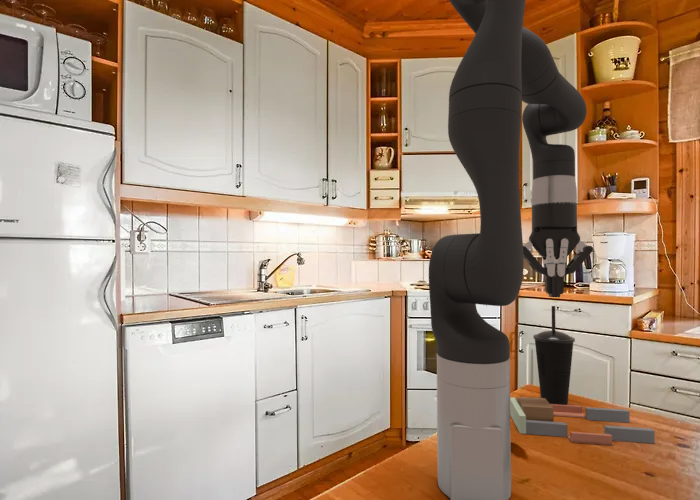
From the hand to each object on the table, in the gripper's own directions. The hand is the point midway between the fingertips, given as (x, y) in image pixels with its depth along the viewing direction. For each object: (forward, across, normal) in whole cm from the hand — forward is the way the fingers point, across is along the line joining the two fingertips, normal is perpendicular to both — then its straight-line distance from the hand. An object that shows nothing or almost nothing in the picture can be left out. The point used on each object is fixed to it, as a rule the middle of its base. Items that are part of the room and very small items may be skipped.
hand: (554, 296), depth 75 cm
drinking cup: (+23, +2, +10) cm, 25 cm away
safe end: (+23, -7, -2) cm, 24 cm away
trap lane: (+23, +3, -2) cm, 23 cm away
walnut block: (+23, -4, -2) cm, 23 cm away
